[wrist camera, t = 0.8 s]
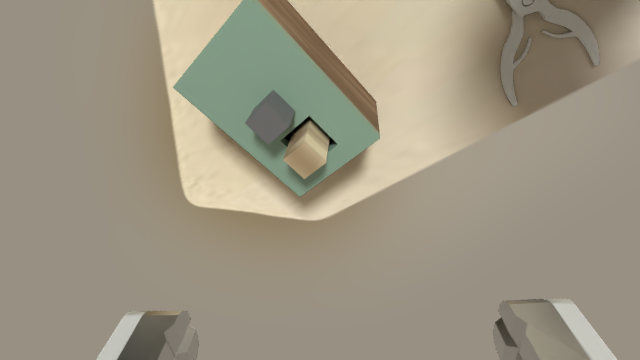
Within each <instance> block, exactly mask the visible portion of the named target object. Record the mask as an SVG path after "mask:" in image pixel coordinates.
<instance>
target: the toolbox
mask: <svg viewBox="0 0 640 360" xmlns="http://www.w3.org/2000/svg"><path fill="white" fill-rule="evenodd" d="M258 1H259V2H260V3H261V4H262V6H263V7H264V8H265V9H266V10H267V11H268V12H269V13H270V14H271V15H272V16H273V18H274V19H275V20H276V21H277V22H278V23H279V24H280V25H281V26H282V27H283V28H284V30H285V31H286V32H287V33H288V34H289V35H290V36H291V37H292V38H293V39H294V40H295V42H296V43H297V44H298V45H299V46H300V47H301V48H302V49H303V50H304V51H305V52H306V54H307V55H308V56H309V57H310V58H311V59H312V60H313V61H314V62H315V63H316V64H317V65H318V67H319V68H320V69H321V70H322V71H323V72H324V73H325V74H326V75H327V76H328V77H329V79H330V80H331V81H332V82H333V83H334V84H335V85H336V86H337V87H338V88H339V89H340V91H341V92H342V93H343V94H344V95H345V96H346V97H347V98H348V99H349V100H350V101H351V103H352V104H353V105H354V106H355V107H356V108H357V109H358V110H359V111H360V112H361V113H362V114H363V116H364V117H365V118H366V119H367V120H368V121H369V122H370V123H371V124H372V125H373V126H374V128H375V129H376V130H377V131H378V132H379V124H378V116H377V107H376V101H375V100H374V98H373V97H372V96H371V95H370V94H369V93H368V92H367V90H366V89H365V88H364V87H363V86H362V85H361V84H360V83H359V81H358V80H357V79H356V78H355V77H354V76H353V75H352V73H351V72H350V71H349V70H348V69H347V68H346V67H345V65H344V64H343V63H342V62H341V61H340V60H339V59H338V58H337V56H336V55H335V54H334V53H333V52H332V51H331V50H330V48H329V47H328V46H327V45H326V44H325V43H324V42H323V40H322V39H321V38H320V37H319V36H318V35H317V34H316V33H315V31H314V30H313V29H312V28H311V27H310V26H309V25H308V23H307V22H306V21H305V20H304V19H303V18H302V17H301V15H300V14H299V13H298V12H297V11H296V10H295V9H294V8H293V6H292V5H291V4H290V3H289V2H288V1H287V0H258ZM293 130H294V129H293ZM293 130H292V131H291V132H290V133H289V134H288V135H286V136H285V137H284V138H285V139H286V140H287V141H290V138H291V135H292V132H293ZM332 142H334V140H333V139H332V138H331V137H330V139H329V145H330V144H331V143H332Z"/></svg>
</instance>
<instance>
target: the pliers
mask: <svg viewBox="0 0 640 360" xmlns="http://www.w3.org/2000/svg"><path fill="white" fill-rule="evenodd" d="M506 2H507V3H508V4H509V5H510V7H511V8H512V9H513V11H512V12H511V17H512V24H511V28H510V32H509V35H508V38H507V40H506V42H505V44H504V46H503V50H502V54H501V62H500V74H501V82H502V86H503V89H504V92H505V94H506V96H507V98H508V99H509V101H510V102H511V104H512V105H513V106H516V105H518V103H517V100H516V96H515V91H514V85H513V71H514V69H515V68H516V66H517V65H518V64H519V63H520V62H521V61H522V60H523V59H524V57H525V56H526V54H527V53H528V50H529V48H530V45H531V41H532V37H529V38H528V41H527V45H526V47H525V49H524V52H523V53H522V54H521V56H520V57H519V58H518V59H517V60H516V61H514V56H515V54H516V51H517V49H518V46H519V44H520V42H521V39H522V37H523V35H524V23H523V17H524V16H525V15H527V14H530V13H534V12H537V11H538V13H539V14H540V16H541V17H542V18H543V19H544V21H547V22H551V23H554V24H558V25H561V26H564V27H566V28H568V29H569V30H570V32H567V33H564V34H552V33H549V32H547V31H545V30H542V31H541V32H543V33H544V34H546V35H548V36H551V37H554V38H567V37H577V38H578V39H579V40H580V42H581V43H582V44H583V46H584V47H585V49H586V51H587V53H588V55H589V57H590V58H591V61H592V63H593V65H594V66H597V65H599V64H600V55H599V48H598V44H597V41H596V39H595V36H594V34H593V32H592V31H591V29H590V28H589V27H588V25H587V24H586V23H585V22H584V21H583V20H582V19H581V18H580V17H578V16H577V15H576V14H574V13H572V12H570V11H568V10H564V9H559V8H556V7H554V6H553V5H552V4H551V3H550V2H549V1H548V0H506Z"/></svg>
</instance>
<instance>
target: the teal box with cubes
mask: <svg viewBox="0 0 640 360" xmlns="http://www.w3.org/2000/svg"><path fill="white" fill-rule="evenodd" d="M173 88H174V89H175V90H177V91H178V92H179V93H180V94H181V95H182V96H183V97H185V98H186V99H187V100H188V101H189V102H190V103H192V104H193V105H194V106H195V107H196V108H197V109H199V110H200V111H201V112H202V113H203V114H204V115H206V116H207V117H208V118H209V119H210V120H211V121H212V122H214V123H215V124H216V125H217V126H218V127H219V128H221V129H222V130H223V131H224V132H225V133H226V134H228V135H229V136H230V137H231V138H232V139H233V140H235V141H236V142H237V143H238V144H239V145H240V146H241V147H243V148H244V149H245V150H246V151H247V152H248V153H250V154H251V155H252V156H253V157H254V158H255V159H257V160H258V161H259V162H260V163H261V164H262V165H264V166H265V167H266V168H267V169H268V170H269V171H270V172H272V173H273V174H274V175H275V176H276V177H277V178H279V179H280V180H281V181H282V182H283V183H284V184H286V185H287V186H288V187H289V188H290V189H291V190H293V191H294V192H295V193H296V194H297V195H298V196H299V197H300V196H302V195H303V194H305V193H306V192H307V191H309V190H310V189H311V188H313V187H314V186H316V185H317V184H318V183H320V182H321V181H322V180H324V179H325V178H326V177H328V176H329V175H331V174H332V173H333V172H335V171H336V170H337V169H339V168H340V167H342V166H343V165H344V164H346V163H347V162H348V161H350V160H351V159H352V158H354V157H355V156H357V155H358V154H359V153H361V152H362V151H363V150H365V149H366V148H368V147H369V146H370V145H372V144H373V143H374V142H376V141H377V140H378V139H380V133H379V132H378V131H377V130H376V129H375V128H374V126H373V125H372V124H371V123H370V122H369V121H368V120H367V119H366V118H365V117H364V116H363V114H362V113H361V112H360V111H359V110H358V109H357V108H356V107H355V106H354V105H353V104H352V103H351V101H350V100H349V99H348V98H347V97H346V96H345V95H344V94H343V93H342V92H341V91H340V89H339V88H338V87H337V86H336V85H335V84H334V83H333V82H332V81H331V80H330V79H329V77H328V76H327V75H326V74H325V73H324V72H323V71H322V70H321V69H320V68H319V67H318V65H317V64H316V63H315V62H314V61H313V60H312V59H311V58H310V57H309V56H308V55H307V54H306V52H305V51H304V50H303V49H302V48H301V47H300V46H299V45H298V44H297V43H296V42H295V40H294V39H293V38H292V37H291V36H290V35H289V34H288V33H287V32H286V31H285V30H284V28H283V27H282V26H281V25H280V24H279V23H278V22H277V21H276V20H275V19H274V18H273V16H272V15H271V14H270V13H269V12H268V11H267V10H266V9H265V8H264V7H263V6H262V4H261V3H260V2H259V1H258V0H243V1H242V2H241V3H240V5H239V6H238V7H237V8H236V10H235V11H234V12H233V13H232V15H231V16H230V17H229V18H228V20H227V21H226V22H225V23H224V25H223V26H222V27H221V28H220V29H219V31H218V32H217V33H216V34H215V36H214V37H213V38H212V39H211V41H210V42H209V43H208V44H207V46H206V47H205V48H204V49H203V51H202V52H201V53H200V54H199V56H198V57H197V58H196V59H195V60H194V62H193V63H192V64H191V65H190V67H189V68H188V69H187V70H186V72H185V73H184V74H183V75H182V77H181V78H180V79H179V80H178V82H177V83H176V84H175V85H174V87H173ZM308 116H310V117H311V118H312V119H313V120H314V121H315V122H316V123H317V124H318V125H319V126H320V127H321V128H322V129H323V130H324V131H325V132H326V133H327V134H328V135H329V136H330V137H331V138H332V139H333V140H334V142H332V143H331V144H330V145H329V146H328V153H327V160H326V163H325V164H324V165H323V166H321V167H320V168H319V169H317V170H316V171H315V172H313V173H312V174H311V175H309V176H308V177H307V178H305V179H304V178H303V177H302V176H300V175H299V174H298V173H297V172H296V171H295V170H294V169H293V168H292V167H290V166H289V165H288V164H287V163H286V162H285V161H284V160H283V158H284V156H285V153H286V150H287V147H288V144H289V141H287V140H286V139H285V138H284V137H285V136H286V135H288V134H289V133H290V132H291V131H292V130H293V129H294V128H296V127H297V126H298V125H299V124H300V123H301V122H303V121H304V120H305V119H306V118H307V117H308Z"/></svg>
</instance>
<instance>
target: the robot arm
mask: <svg viewBox="0 0 640 360" xmlns="http://www.w3.org/2000/svg"><path fill="white" fill-rule="evenodd" d="M498 311H499V313H500V315H501V318H500V319H499V320H497V321H496V322H495V325H494V329H493V336H494V343H495V346H496V350H497V353H498V355H499V357H500V360H617V359H616V357H615V356H614V355H613V354H612V352H611V351H610V350H609V348H608V347H607V346H606V344H605V343H604V342H603V341H602V339H601V338H600V337H599V336H598V334H597V333H596V331H595V330H594V329H593V327H592V326H591V325H590V324H589V322H588V321H587V320H586V318H585V317H584V316H583V315H582V313H581V312H580V310H579V309H578V308H577V307H576V305H575V304H574V303H573V302H572V301H571V300H569V299H545V300H544V299H531V300H530V299H529V300H507V301H502V302H501V304H500V306H499V310H498ZM190 320H191V318H190V316H189V314H188V312H187V311H130V312H128V313H127V314H126V315H125V316H124V317H123V318H122V320H121V321H120V323H119V324H118V326H117V328H116V329H115V331H114V332H113V334H112V335H111V337H110V339H109V340H108V342H107V343H106V345H105V346H104V348H103V350H102V351H101V353H100V355H99V356H98V358H97V359H96V360H196V358H197V354H198V346H199V341H198V335H197V332H196V330H195V329H194V328H192V327H191V326H189V323H190Z"/></svg>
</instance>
